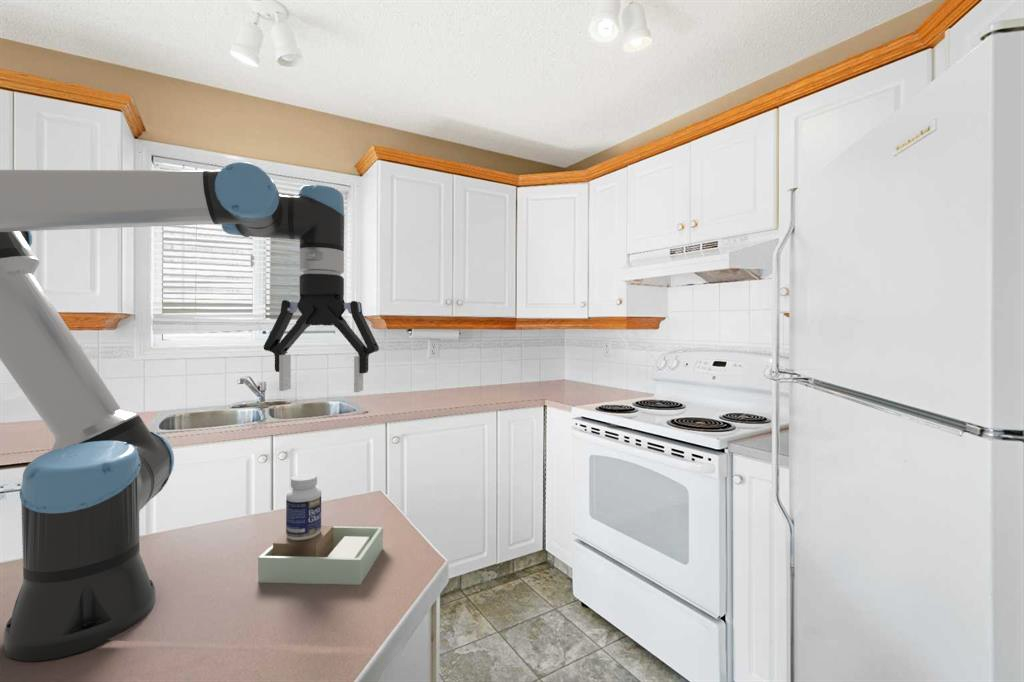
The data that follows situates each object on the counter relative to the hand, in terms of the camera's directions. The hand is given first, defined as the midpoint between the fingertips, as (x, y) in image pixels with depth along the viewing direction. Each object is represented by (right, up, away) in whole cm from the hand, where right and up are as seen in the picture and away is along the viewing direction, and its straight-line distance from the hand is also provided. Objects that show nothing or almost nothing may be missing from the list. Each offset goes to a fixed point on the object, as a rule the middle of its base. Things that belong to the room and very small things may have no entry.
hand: (321, 390), depth 87 cm
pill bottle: (0, -24, -7) cm, 25 cm away
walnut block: (0, -28, -7) cm, 29 cm away
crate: (+3, -29, -7) cm, 30 cm away
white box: (+7, -28, -7) cm, 30 cm away
